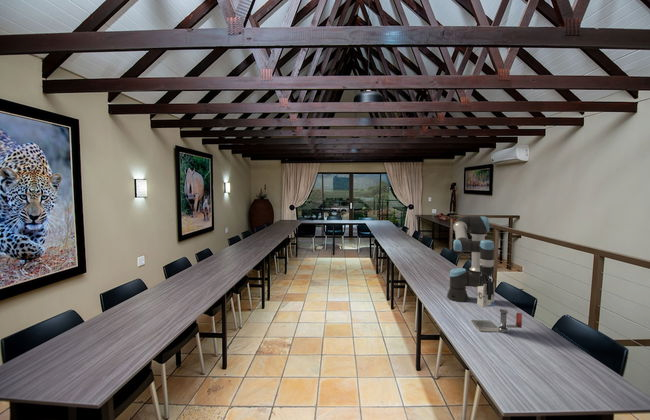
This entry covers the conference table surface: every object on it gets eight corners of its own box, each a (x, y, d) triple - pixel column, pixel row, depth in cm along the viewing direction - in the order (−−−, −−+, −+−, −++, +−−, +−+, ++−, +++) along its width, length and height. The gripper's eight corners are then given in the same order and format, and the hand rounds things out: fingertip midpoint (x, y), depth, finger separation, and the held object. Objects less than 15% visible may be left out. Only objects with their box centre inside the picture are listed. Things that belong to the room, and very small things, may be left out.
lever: (505, 325, 178) (506, 312, 177) (519, 326, 178) (520, 312, 177) (508, 328, 175) (508, 314, 175) (522, 328, 175) (523, 314, 174)
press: (470, 322, 189) (471, 303, 188) (497, 322, 188) (497, 303, 187) (481, 332, 175) (481, 312, 175) (509, 333, 174) (510, 312, 174)
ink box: (488, 303, 185) (488, 280, 184) (494, 306, 181) (495, 282, 180) (476, 304, 183) (477, 281, 182) (482, 307, 179) (483, 284, 177)
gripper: (473, 261, 190) (472, 296, 192) (488, 269, 171) (487, 308, 173) (485, 261, 189) (484, 296, 191) (501, 269, 170) (500, 308, 172)
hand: (485, 302), depth 182 cm, fingers closed on ink box, 6 cm apart
